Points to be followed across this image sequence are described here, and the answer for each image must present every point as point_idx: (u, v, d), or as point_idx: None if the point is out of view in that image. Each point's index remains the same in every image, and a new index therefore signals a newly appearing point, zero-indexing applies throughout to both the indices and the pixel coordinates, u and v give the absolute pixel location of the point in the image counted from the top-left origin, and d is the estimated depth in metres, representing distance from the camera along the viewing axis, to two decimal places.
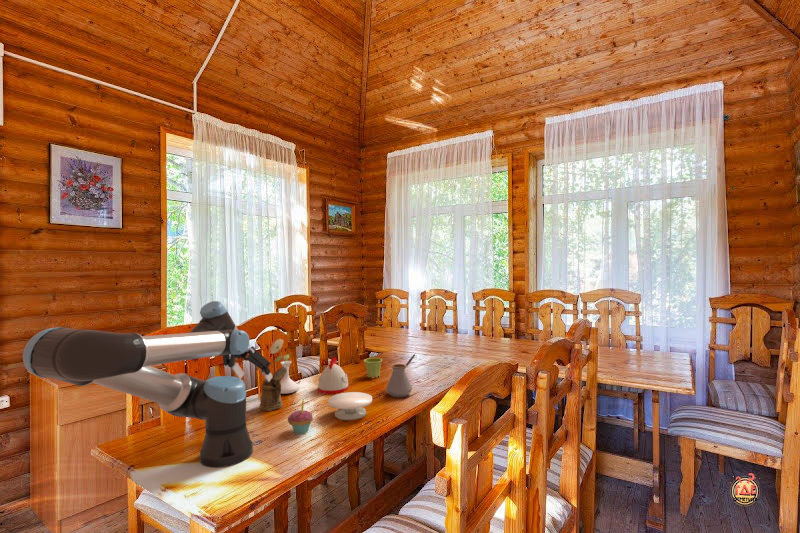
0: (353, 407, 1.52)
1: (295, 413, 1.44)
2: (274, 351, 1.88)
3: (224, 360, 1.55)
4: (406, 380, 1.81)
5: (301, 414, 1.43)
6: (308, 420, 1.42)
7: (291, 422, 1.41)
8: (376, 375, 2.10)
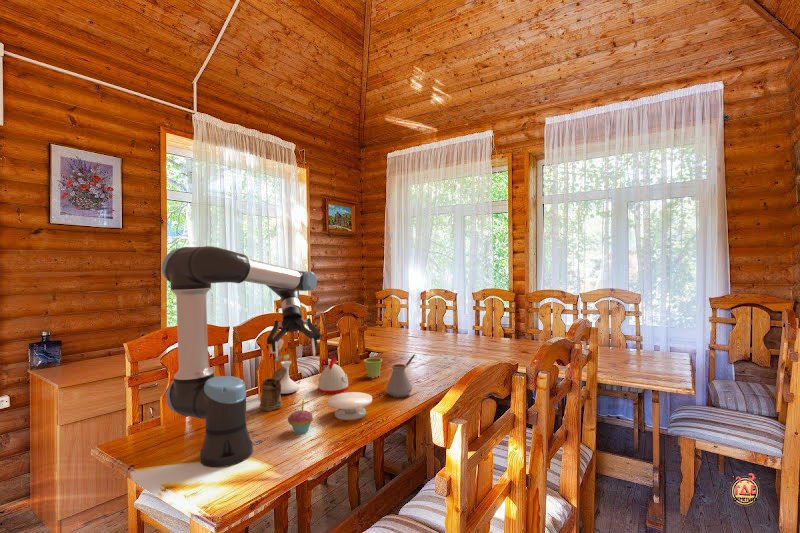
0: (353, 407, 1.52)
1: (295, 413, 1.44)
2: None
3: (271, 333, 1.58)
4: (406, 380, 1.81)
5: (301, 414, 1.43)
6: (308, 420, 1.42)
7: (291, 422, 1.41)
8: (376, 375, 2.10)
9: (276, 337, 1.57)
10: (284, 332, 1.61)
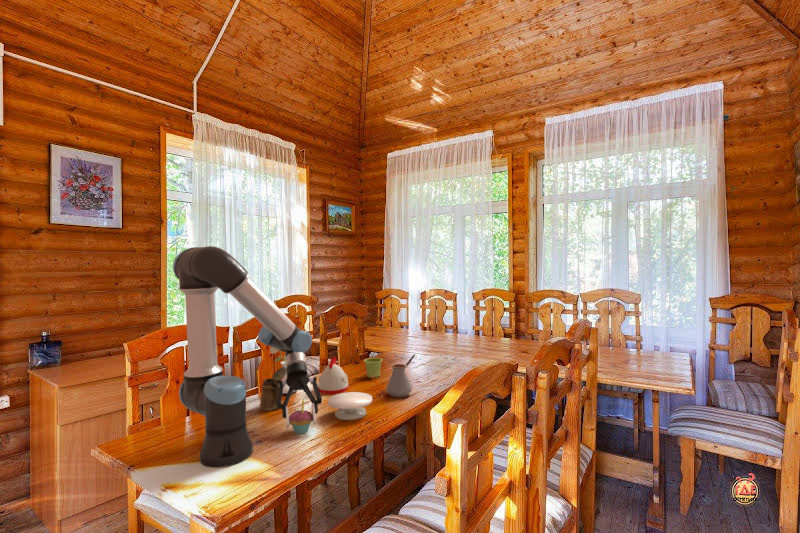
0: (353, 407, 1.52)
1: (295, 413, 1.44)
2: (274, 351, 1.88)
3: (279, 396, 1.46)
4: (406, 380, 1.81)
5: (301, 414, 1.43)
6: (308, 420, 1.42)
7: (291, 422, 1.41)
8: (376, 375, 2.10)
9: (286, 401, 1.45)
10: (291, 392, 1.49)
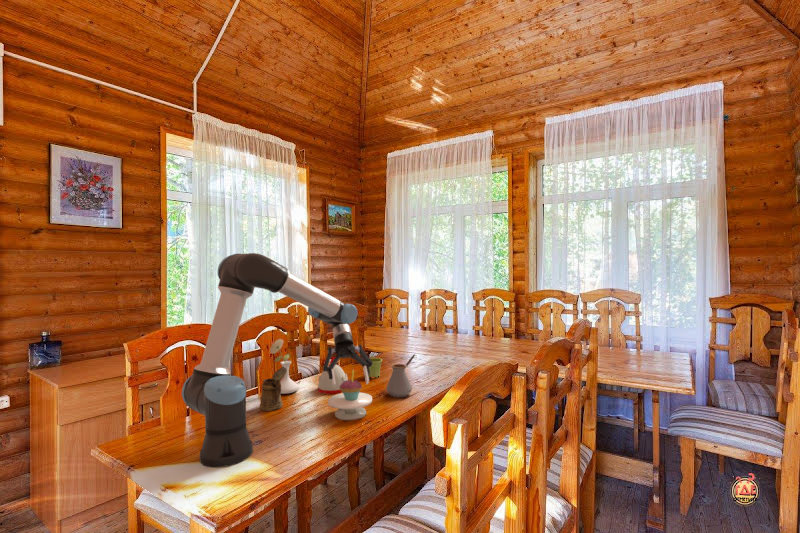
0: (353, 407, 1.52)
1: (346, 382, 1.59)
2: (274, 351, 1.88)
3: (327, 360, 1.61)
4: (406, 380, 1.81)
5: (352, 383, 1.58)
6: (358, 388, 1.58)
7: (343, 389, 1.57)
8: (376, 375, 2.10)
9: (332, 364, 1.61)
10: (338, 359, 1.64)
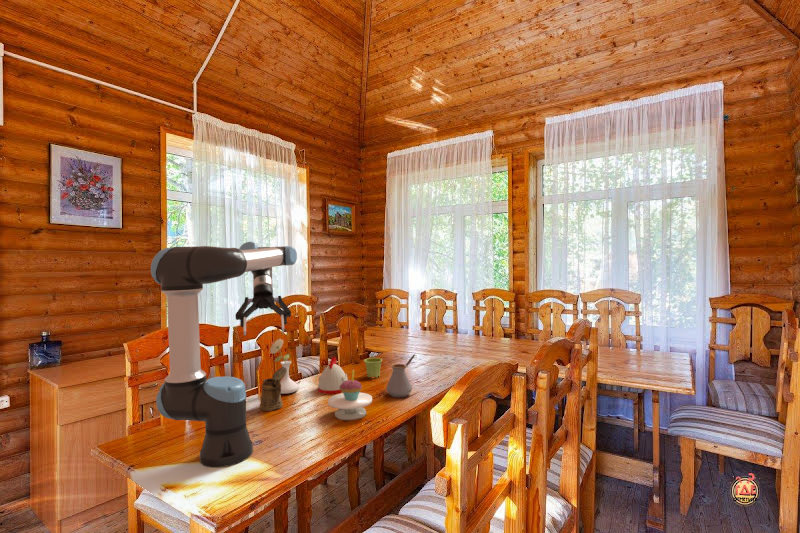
0: (353, 407, 1.52)
1: (346, 382, 1.59)
2: (274, 351, 1.88)
3: (240, 309, 1.57)
4: (406, 380, 1.81)
5: (352, 383, 1.58)
6: (358, 388, 1.58)
7: (343, 390, 1.57)
8: (376, 375, 2.10)
9: (245, 313, 1.57)
10: (254, 308, 1.60)
